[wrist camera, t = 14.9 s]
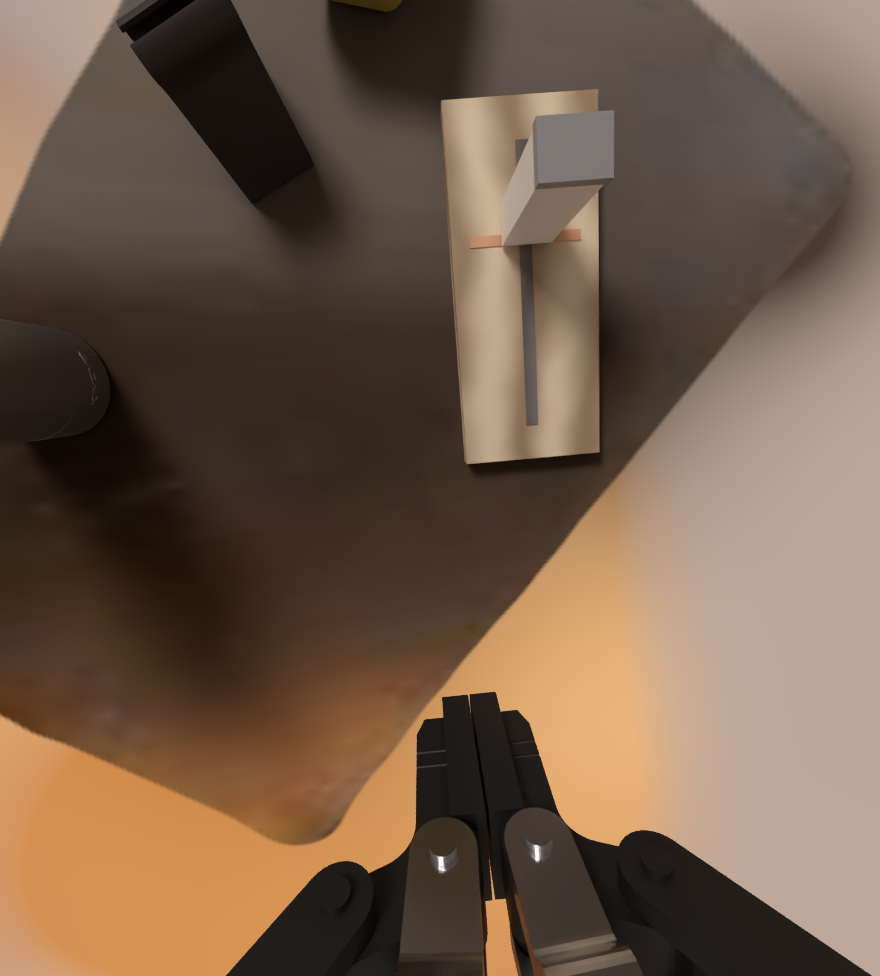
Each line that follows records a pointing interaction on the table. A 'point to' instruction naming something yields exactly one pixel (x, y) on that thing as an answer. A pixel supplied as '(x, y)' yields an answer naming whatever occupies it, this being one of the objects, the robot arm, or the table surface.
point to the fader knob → (557, 175)
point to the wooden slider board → (519, 292)
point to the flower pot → (374, 4)
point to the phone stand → (219, 88)
